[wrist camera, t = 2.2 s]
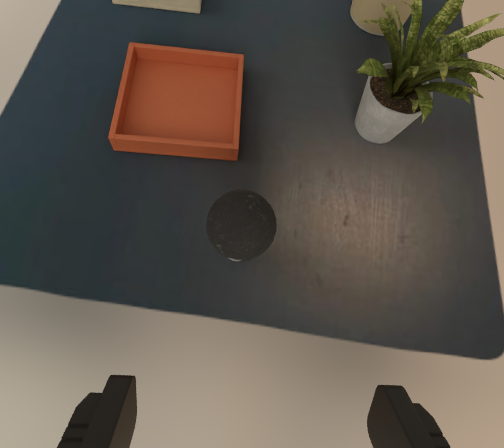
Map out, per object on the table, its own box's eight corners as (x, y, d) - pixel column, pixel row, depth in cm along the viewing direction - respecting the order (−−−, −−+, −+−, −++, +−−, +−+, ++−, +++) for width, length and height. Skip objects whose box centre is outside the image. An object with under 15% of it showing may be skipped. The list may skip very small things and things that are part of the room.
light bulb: (214, 220, 36) (216, 169, 27) (268, 232, 36) (287, 185, 27) (201, 272, 34) (197, 237, 25) (258, 285, 34) (275, 254, 25)
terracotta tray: (113, 150, 38) (107, 137, 36) (133, 58, 43) (129, 41, 41) (237, 161, 39) (238, 149, 37) (242, 69, 44) (244, 54, 42)
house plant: (338, 196, 39) (419, 87, 24) (292, 98, 43) (335, -47, 28) (447, 166, 42) (579, 52, 27) (393, 76, 46) (480, -64, 31)
